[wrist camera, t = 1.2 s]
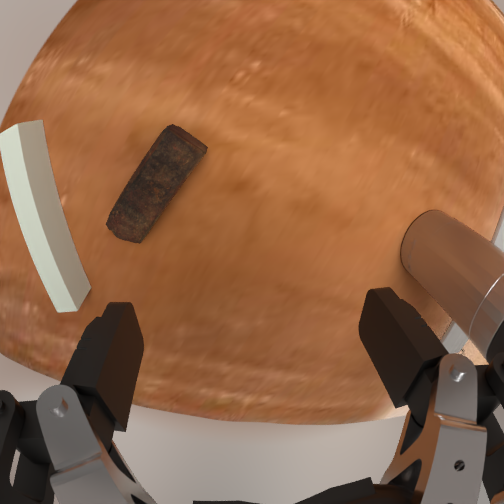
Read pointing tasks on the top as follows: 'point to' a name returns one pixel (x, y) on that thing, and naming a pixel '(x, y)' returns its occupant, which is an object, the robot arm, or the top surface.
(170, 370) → the top surface
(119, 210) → the brick
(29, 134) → the board
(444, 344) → the baseboard molding
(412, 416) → the robot arm
